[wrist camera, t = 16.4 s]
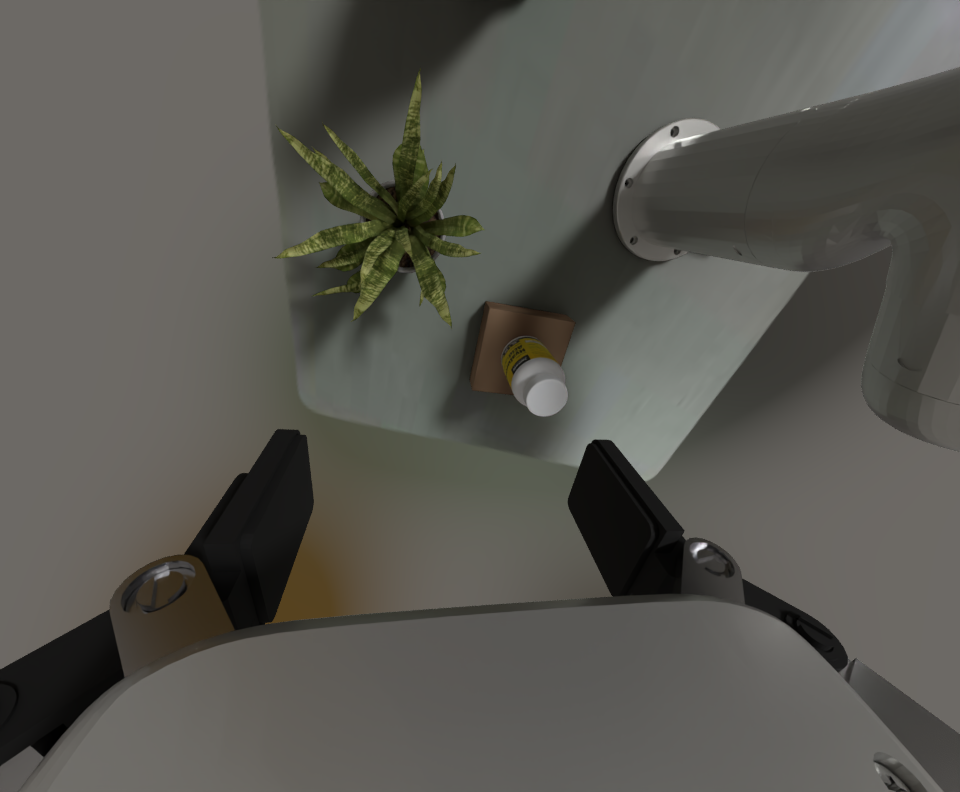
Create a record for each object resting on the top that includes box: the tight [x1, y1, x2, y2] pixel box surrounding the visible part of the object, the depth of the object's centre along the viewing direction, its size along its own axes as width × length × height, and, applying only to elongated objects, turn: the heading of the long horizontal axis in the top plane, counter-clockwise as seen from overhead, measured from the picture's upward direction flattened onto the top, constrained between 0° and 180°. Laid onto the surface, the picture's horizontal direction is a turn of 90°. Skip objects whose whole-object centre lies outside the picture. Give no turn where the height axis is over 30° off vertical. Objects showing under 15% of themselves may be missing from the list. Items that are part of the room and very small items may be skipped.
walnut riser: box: [470, 301, 576, 395], centre depth 41 cm, size 10×10×3 cm
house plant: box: [275, 68, 484, 327], centre depth 26 cm, size 14×14×16 cm
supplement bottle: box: [501, 336, 568, 417], centre depth 35 cm, size 5×5×10 cm
